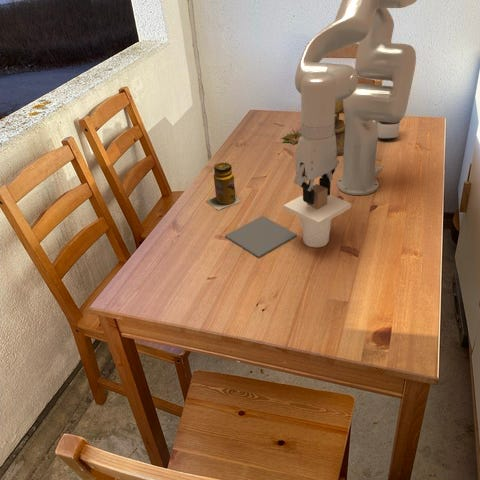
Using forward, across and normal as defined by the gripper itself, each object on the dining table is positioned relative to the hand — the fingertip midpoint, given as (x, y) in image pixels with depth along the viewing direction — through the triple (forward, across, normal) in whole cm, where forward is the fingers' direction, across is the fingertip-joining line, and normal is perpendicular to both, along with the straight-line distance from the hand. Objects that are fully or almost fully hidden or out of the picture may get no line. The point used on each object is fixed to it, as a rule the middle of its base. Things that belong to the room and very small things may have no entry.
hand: (316, 197), depth 119 cm
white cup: (+13, 0, 0) cm, 13 cm away
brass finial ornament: (+13, -48, -35) cm, 61 cm away
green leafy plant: (+14, -45, -52) cm, 70 cm away
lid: (+3, 0, 0) cm, 3 cm away
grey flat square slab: (+13, +9, -12) cm, 20 cm away
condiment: (+13, +4, -35) cm, 38 cm away
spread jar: (+13, -67, -29) cm, 74 cm away
